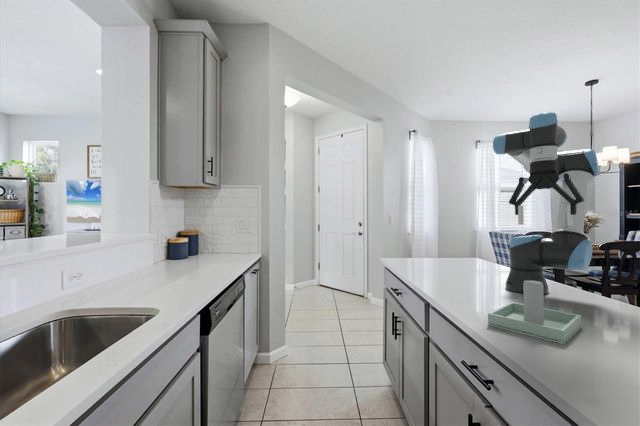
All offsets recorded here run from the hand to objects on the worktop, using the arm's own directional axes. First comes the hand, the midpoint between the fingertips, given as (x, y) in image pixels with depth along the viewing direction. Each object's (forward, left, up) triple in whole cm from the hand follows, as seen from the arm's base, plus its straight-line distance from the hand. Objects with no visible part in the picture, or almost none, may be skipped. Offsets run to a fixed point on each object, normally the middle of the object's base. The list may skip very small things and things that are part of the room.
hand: (544, 225), depth 103 cm
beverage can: (+18, +2, -28) cm, 33 cm away
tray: (+18, +2, -29) cm, 34 cm away
